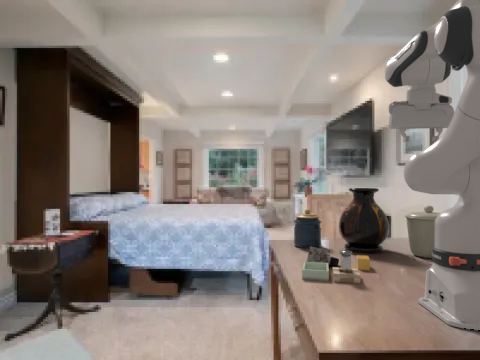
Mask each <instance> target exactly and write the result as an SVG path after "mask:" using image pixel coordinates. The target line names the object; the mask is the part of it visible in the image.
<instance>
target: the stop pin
mask: <svg viewBox="0 0 480 360" xmlns="http://www.w3.org/2000/svg"><path fill="white" fill-rule="evenodd" d="M339 254H340V268H341V272H343V273H351V268H352V255H353V251H349V250H347V249H342V250H339Z"/></svg>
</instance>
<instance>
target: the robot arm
mask: <svg viewBox="0 0 480 360" xmlns="http://www.w3.org/2000/svg"><path fill="white" fill-rule="evenodd" d="M464 66H465V67H466V72H467V79H466V82H465V85H464V87H463V90H462V92H461V95H460V96H459V99H458V102H457V104H456V107H455V109H454V107H453V105H452V103H453V98H452V97H451V96H448V95H444V94H441V93H438V92H437V90H436V89H437V88H436V85H437V84H441V83H443V82H444V81H446V79H448V78H449V76H451V72H452V71H451V70H454V72H455V71H456V72H458V71H460V70H461V69H463V68H464ZM384 77H385V81H386V82H387V83H388V84H389V85H390V86H392V87H393V88H399V87H403V86H407V90H406V100H400V101H393V102H391V103H390V104H389V105H388V113H389V116H388V117H389V118H388V128H390V129H391V130H397V129H398V130H399V134H400V135H401V136H402V142H403V143H409V142H410V136H408V135H407V134H406V132H407V129H408V130H409V129H411V130H412V129H413V130H414V129H418V130H419V129H420V130H421V129H435V132H436V133H435V135H434V136H432V137H431V139H432V140H431V141H432V142H433V143H432V144H431V145H429V146H428V147H426V148H424V149H423V150H421V151H418V152H416V153H414V154H412V155H411V156H410V157H409V158H408V160H407V161H406V163H404V164H405V165H404V169H403V177H404V181H405V183H406V185H407V186H408V187H409V188H410V189H411V191H414V192H419V193H423V194H429V195H458V196H459V197H458V199H457V201H456V203H455V204H454V205H453V206H452V207H449V208H448V209H446V210H443V211H441V212H439V213H440V214H439V215H438V216H437V218H436V219H435V247H433V252H432V258H431V259H432V260H431V261H432V262H433V263H432V265H431V266H430V267H429V268H428V269H427V270H426V271H425V285H424V296H422V297H419V298H418V304H419V305H421V306H422V307H424V308H425V309H427V310H428V311H429V312H430V313H431V314H434V315H435V317H437V318H438V319H440V320H441V321H442V322H444V323H445V324H446V325H449V326H452V327H456V328H460V329H464V328H466V329H465V330H470V329H474V330H473V331H478V330H480V0H456V2H455V3H454V4H453V5H452V6H451V7H450V9H448V11H446V12H445V13H444V14H443V15H442V16H441V17H440V19H439V20H438V21H436V22H435V23H434V24H433V25H431V26H429V27H427V28H425V30H422V31H420V32H418V33H417V34H416V35H414V37H412V38H411V40H409V41H408V42H407V43H406V45H404V46H403V47H402V48H401V49H400V50H399V51H398V52H397V53H395V54H393V55H392V56H391V57H390V58H389V59H388V60H387V62H386V65H385V70H384ZM443 129H445V131H444V130H443ZM443 131H444V132H443ZM442 133H443V134H442ZM441 134H442V135H441Z"/></svg>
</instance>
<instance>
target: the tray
mask: <svg viewBox="0 0 480 360" xmlns="http://www.w3.org/2000/svg"><path fill="white" fill-rule="evenodd" d="M302 265H303V266H302V269H301V271H302V272H301V273H302V274H301V278H302V279H301V280H307V281H308V280H310V281H311V280H312V281H324V282H325V281H327V282H328V281H329V279H330V278H329V277H330V274H329V272H330V270H329V269H330V268H329V265H328V263H318V262H307V261H303V264H302Z"/></svg>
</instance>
